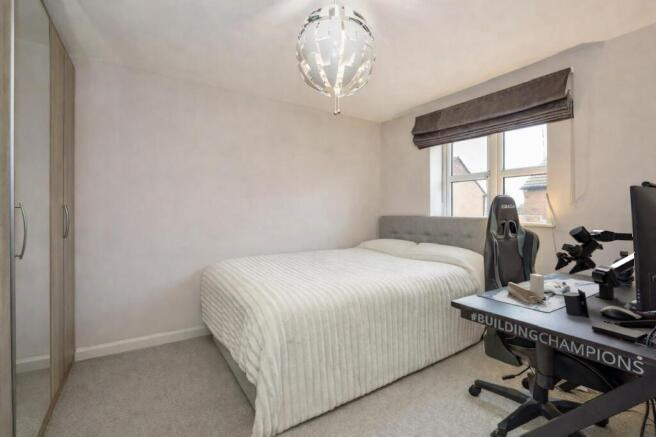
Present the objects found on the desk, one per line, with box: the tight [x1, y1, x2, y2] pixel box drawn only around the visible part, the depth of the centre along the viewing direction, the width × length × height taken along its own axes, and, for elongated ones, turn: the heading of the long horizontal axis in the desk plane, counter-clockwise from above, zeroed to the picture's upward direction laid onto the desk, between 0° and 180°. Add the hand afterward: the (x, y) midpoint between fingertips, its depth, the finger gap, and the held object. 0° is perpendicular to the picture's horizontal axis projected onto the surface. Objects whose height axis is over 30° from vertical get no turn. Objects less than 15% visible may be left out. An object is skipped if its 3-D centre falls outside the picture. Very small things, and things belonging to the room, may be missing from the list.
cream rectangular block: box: [529, 273, 545, 299], centre depth 147 cm, size 3×6×12 cm, turn 178°
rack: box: [507, 281, 547, 304], centre depth 147 cm, size 12×16×6 cm
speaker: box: [562, 288, 590, 319], centre depth 124 cm, size 8×6×10 cm
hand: (562, 271), depth 147 cm, fingers open, 9 cm apart
